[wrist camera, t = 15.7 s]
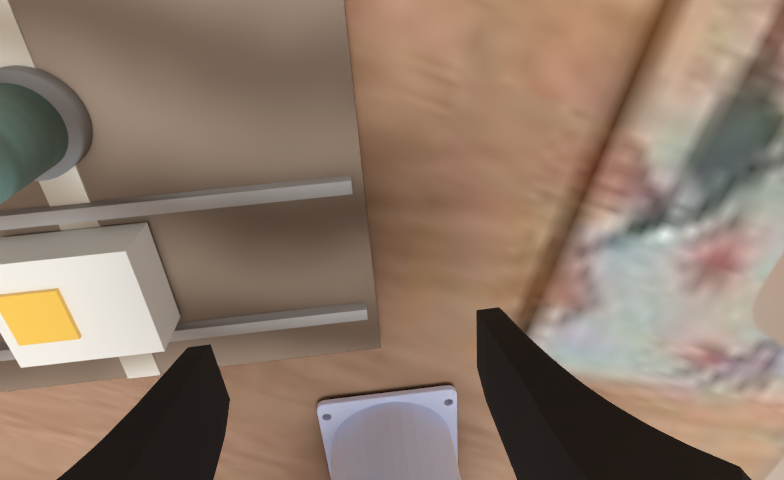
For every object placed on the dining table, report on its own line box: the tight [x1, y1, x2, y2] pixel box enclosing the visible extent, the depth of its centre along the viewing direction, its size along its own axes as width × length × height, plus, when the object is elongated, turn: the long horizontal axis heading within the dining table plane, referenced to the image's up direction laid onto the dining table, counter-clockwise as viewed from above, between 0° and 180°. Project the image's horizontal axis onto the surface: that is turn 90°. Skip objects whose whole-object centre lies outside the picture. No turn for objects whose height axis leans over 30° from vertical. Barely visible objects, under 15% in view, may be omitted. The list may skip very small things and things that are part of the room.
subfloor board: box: [0, 0, 381, 392], centre depth 21 cm, size 18×20×2 cm
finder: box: [0, 222, 180, 368], centre depth 21 cm, size 5×6×3 cm
